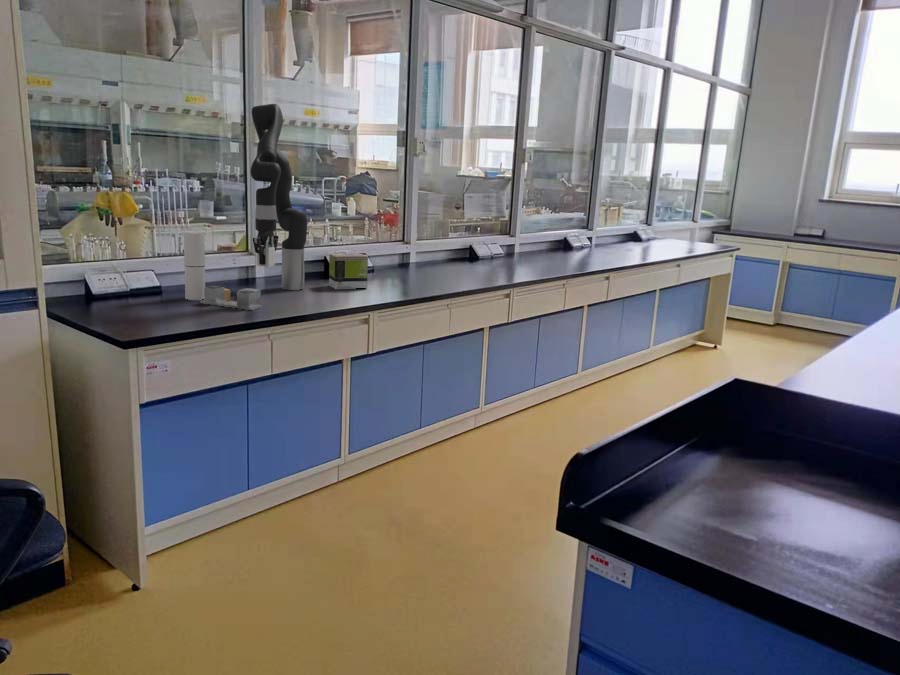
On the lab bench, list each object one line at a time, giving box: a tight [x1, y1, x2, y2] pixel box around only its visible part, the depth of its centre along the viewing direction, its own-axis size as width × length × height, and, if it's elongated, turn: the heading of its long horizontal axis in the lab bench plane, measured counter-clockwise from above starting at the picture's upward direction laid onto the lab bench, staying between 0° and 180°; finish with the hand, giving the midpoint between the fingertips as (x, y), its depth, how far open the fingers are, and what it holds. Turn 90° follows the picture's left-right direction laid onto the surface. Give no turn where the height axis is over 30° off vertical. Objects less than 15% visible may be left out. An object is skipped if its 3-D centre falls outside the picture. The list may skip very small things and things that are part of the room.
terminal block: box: [224, 287, 231, 301], centre depth 262 cm, size 3×4×4 cm
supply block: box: [237, 287, 261, 300], centre depth 268 cm, size 6×6×4 cm
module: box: [256, 246, 276, 268], centre depth 257 cm, size 4×5×7 cm
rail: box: [199, 285, 262, 311], centre depth 252 cm, size 6×22×6 cm, turn 71°
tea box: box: [328, 253, 369, 290], centre depth 303 cm, size 15×10×15 cm
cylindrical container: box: [183, 230, 206, 301], centre depth 258 cm, size 7×7×25 cm
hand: (265, 263), depth 258 cm, fingers closed on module, 4 cm apart
